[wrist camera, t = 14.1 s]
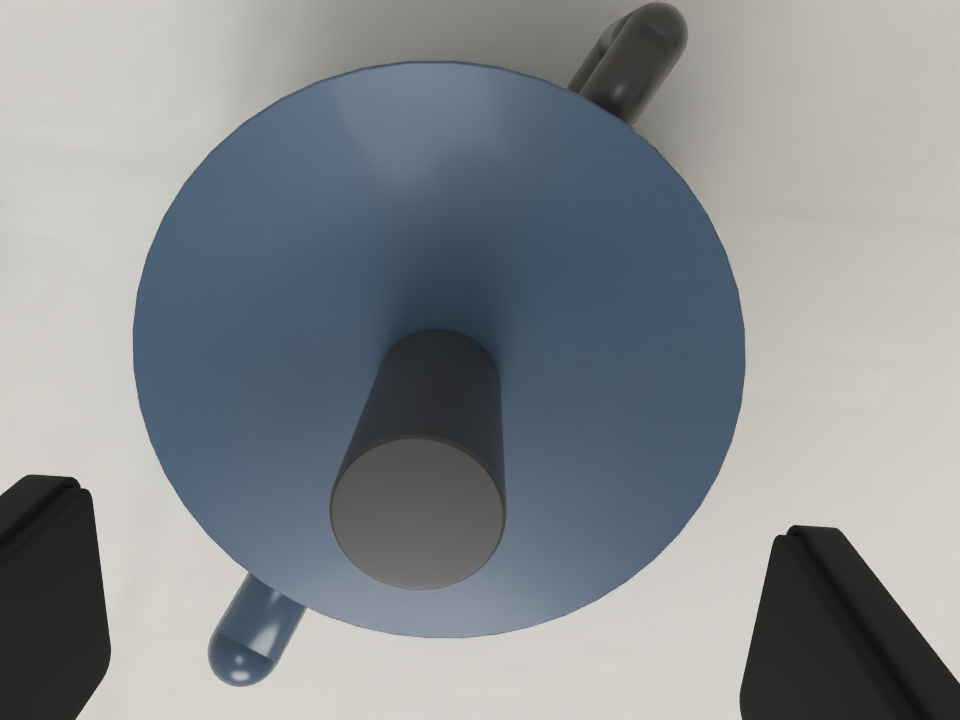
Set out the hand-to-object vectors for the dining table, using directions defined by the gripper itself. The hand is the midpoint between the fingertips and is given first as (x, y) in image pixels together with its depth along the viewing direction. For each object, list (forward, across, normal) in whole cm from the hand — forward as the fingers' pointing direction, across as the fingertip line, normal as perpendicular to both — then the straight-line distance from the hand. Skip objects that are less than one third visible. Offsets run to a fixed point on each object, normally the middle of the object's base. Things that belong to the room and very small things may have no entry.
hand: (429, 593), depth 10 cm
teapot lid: (+9, 0, 0) cm, 9 cm away
